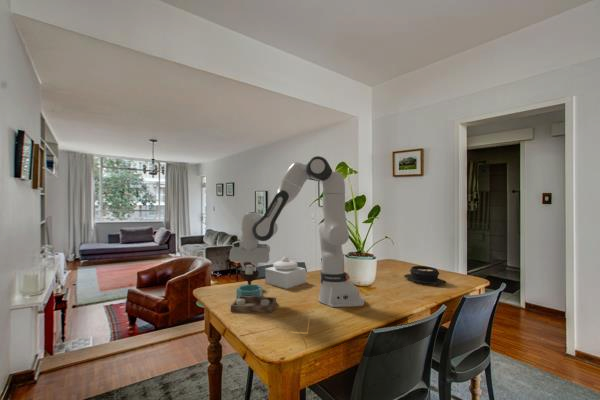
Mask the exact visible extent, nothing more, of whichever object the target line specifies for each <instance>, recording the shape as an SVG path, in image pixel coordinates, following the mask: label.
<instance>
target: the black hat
mask: <svg viewBox="0 0 600 400" xmlns="http://www.w3.org/2000/svg"><path fill="white" fill-rule="evenodd" d="M409 272H410V273H407V274H405V275H403V278H407V279H408V280H410V281H413V282H415V283H418V284H423V285H443V284H446V283H447V281H446V280H444V279H441V278H439V275H440V272H439V270H438V269H437V268H436V267H431V266H425V265H413V266H411V268H410V270H409Z"/></svg>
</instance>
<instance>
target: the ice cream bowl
mask: <svg viewBox="0 0 600 400" xmlns="http://www.w3.org/2000/svg"><path fill="white" fill-rule="evenodd" d="M246 265H253V267H255V264H253V262H244V266H245V267H246ZM257 268H258V266H257V267H256V271H253V274H245V271H243V270H240V271H239V275H240V278H241V279H242V280H244V281H246V282H247V285H248V284H250V285H252V281H255V280H256V279H257V278H258V277H259V275H260V270H258V269H257Z"/></svg>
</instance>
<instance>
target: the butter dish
mask: <svg viewBox="0 0 600 400" xmlns="http://www.w3.org/2000/svg"><path fill="white" fill-rule="evenodd" d="M264 271H265V281H264V283H265V284H268V285H271V286H275V287H278V288H282V289H285V290H287V289H290V288H293V287H297V286H299V285H304V284H307V269H306V268H305V267H301V266H298V263H297V262H296V261H294V260H291V259H290V258H289V257H287V256H283V257H282V258H281V260H277V261H275V262H273V264H272V266H271V267H267V268H264Z"/></svg>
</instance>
